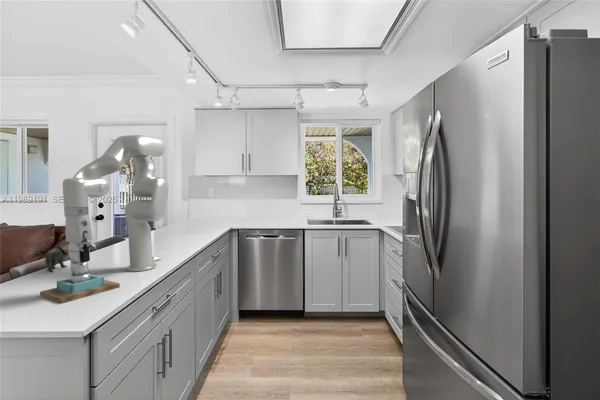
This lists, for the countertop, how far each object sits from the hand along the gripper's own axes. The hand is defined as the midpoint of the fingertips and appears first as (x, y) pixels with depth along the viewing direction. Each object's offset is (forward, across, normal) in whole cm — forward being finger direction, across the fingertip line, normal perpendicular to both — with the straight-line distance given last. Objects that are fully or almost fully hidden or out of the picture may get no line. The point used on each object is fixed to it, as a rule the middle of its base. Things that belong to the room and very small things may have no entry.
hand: (79, 260), depth 130 cm
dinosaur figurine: (+12, +46, -11) cm, 49 cm away
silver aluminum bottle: (+10, 0, 0) cm, 10 cm away
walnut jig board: (+12, 0, 0) cm, 12 cm away
